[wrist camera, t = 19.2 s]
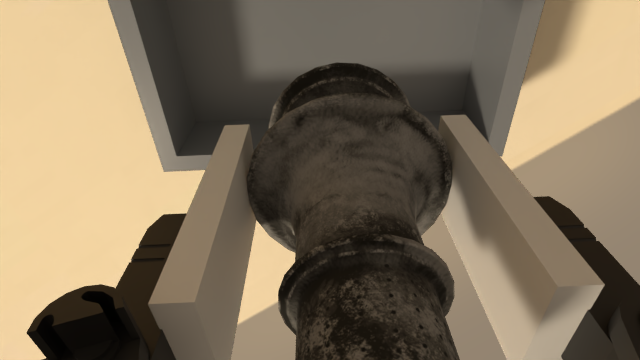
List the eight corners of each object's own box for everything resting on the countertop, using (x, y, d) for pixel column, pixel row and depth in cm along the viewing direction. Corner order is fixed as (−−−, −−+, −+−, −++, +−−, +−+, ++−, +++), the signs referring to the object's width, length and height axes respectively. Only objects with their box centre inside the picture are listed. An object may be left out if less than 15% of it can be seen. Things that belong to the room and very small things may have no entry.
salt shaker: (428, 44, 12) (1014, 635, 2) (416, 192, 15) (614, 690, 5) (245, 61, 12) (-49, 678, 2) (273, 204, 15) (207, 706, 5)
